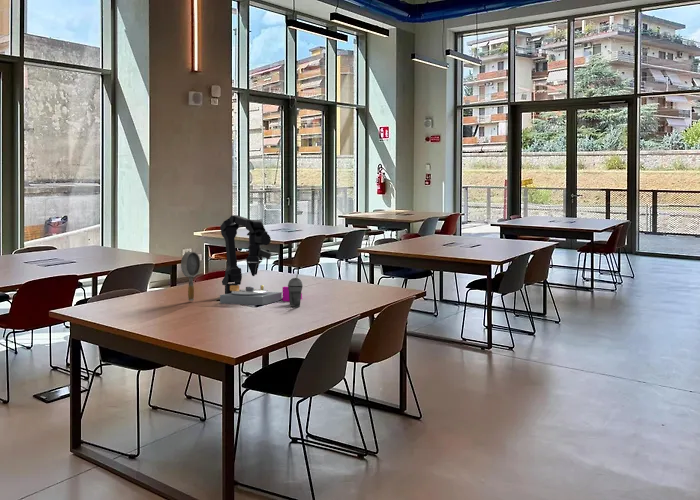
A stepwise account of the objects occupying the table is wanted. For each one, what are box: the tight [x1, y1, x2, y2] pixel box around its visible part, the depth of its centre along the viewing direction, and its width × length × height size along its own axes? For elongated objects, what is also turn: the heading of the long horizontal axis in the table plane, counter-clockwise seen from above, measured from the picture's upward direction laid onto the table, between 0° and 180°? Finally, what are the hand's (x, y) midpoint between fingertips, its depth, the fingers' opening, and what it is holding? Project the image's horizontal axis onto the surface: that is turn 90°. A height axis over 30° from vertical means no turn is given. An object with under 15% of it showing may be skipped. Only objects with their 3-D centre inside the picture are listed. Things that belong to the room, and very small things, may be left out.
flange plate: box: [230, 285, 269, 295], centre depth 325 cm, size 20×18×4 cm
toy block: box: [282, 286, 303, 302], centre depth 334 cm, size 15×6×8 cm, turn 161°
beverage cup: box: [287, 268, 303, 309], centre depth 314 cm, size 7×7×20 cm
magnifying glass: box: [180, 251, 201, 302], centre depth 330 cm, size 13×3×25 cm, turn 160°
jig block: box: [219, 291, 283, 306], centre depth 326 cm, size 23×23×4 cm
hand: (254, 275), depth 327 cm, fingers open, 9 cm apart
